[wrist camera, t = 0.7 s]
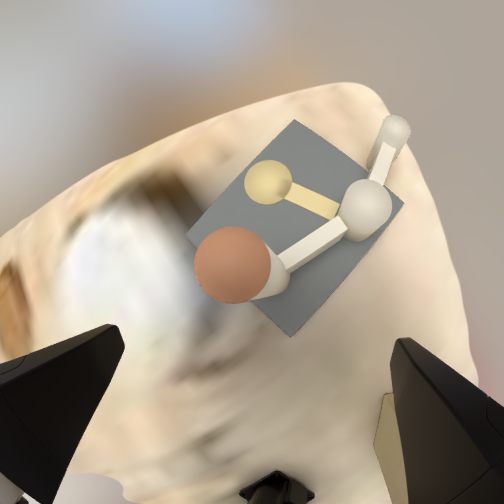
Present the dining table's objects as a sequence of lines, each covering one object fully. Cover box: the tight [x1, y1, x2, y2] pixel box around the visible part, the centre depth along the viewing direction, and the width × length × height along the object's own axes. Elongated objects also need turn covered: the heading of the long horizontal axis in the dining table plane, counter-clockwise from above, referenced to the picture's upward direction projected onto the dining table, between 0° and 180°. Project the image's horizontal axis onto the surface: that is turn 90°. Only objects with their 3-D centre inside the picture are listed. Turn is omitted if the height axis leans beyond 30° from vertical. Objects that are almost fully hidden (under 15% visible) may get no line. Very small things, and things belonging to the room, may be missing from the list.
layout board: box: [185, 119, 404, 338], centre depth 25 cm, size 16×14×1 cm
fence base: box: [337, 115, 411, 242], centre depth 21 cm, size 10×4×8 cm, turn 152°
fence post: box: [194, 215, 348, 304], centre depth 17 cm, size 8×3×15 cm, turn 122°
